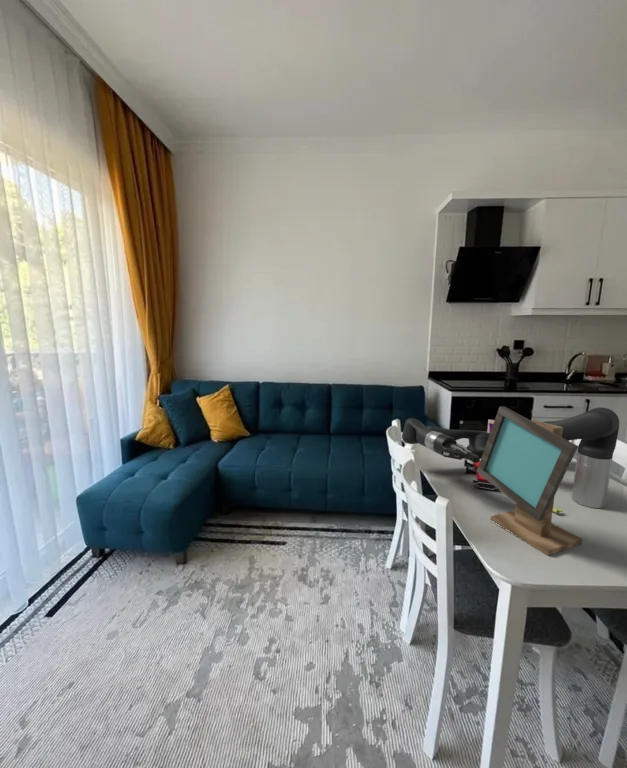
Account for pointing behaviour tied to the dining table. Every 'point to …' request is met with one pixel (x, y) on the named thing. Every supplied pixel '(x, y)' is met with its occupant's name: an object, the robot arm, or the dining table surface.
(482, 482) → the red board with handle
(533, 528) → the framed display stand
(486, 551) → the dining table surface
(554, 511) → the key
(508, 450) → the picture frame
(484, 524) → the dining table surface
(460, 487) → the dining table surface
